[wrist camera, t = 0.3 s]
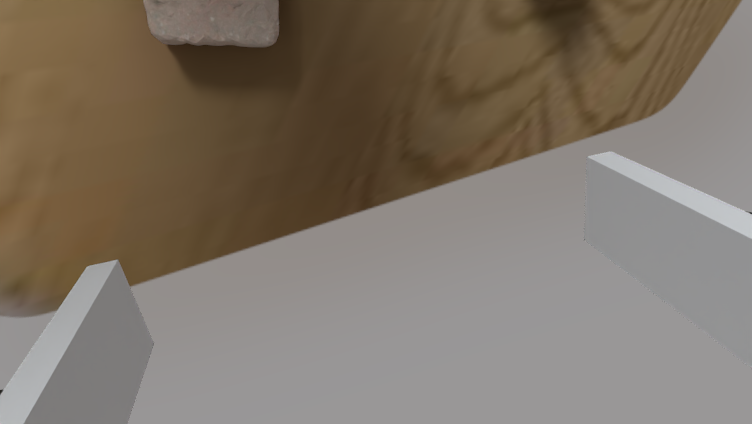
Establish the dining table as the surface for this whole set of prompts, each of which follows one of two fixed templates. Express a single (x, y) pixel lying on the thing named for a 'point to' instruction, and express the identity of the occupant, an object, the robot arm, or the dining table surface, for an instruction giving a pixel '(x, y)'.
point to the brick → (214, 22)
